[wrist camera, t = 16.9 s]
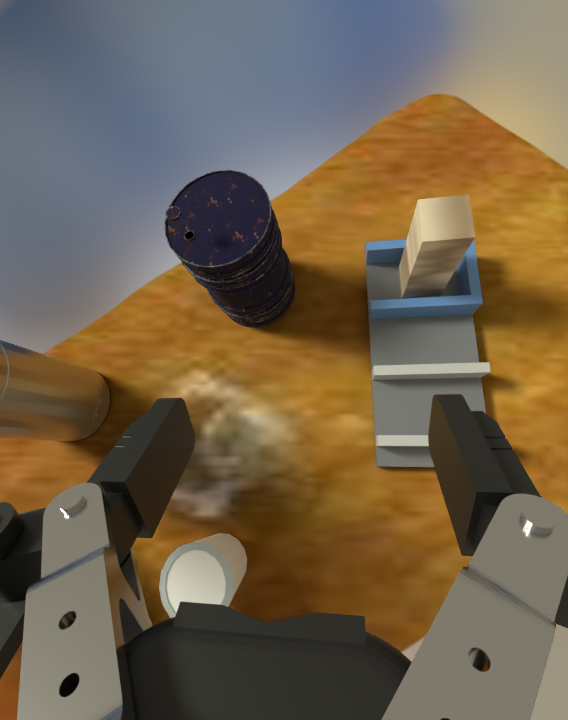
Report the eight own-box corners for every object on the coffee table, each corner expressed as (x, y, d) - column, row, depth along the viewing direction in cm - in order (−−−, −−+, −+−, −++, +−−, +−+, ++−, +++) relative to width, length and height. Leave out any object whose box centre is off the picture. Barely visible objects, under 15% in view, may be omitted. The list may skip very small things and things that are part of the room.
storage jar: (269, 242, 47) (224, 119, 29) (311, 297, 44) (289, 197, 27) (206, 285, 47) (125, 187, 29) (244, 343, 44) (178, 272, 26)
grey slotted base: (376, 465, 38) (379, 467, 34) (364, 247, 44) (366, 226, 40) (488, 467, 36) (506, 469, 32) (458, 239, 42) (470, 217, 38)
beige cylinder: (202, 518, 39) (172, 531, 33) (260, 538, 38) (242, 556, 31) (182, 585, 38) (147, 613, 31) (242, 608, 36) (219, 643, 30)
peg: (400, 301, 40) (422, 241, 29) (398, 269, 41) (418, 199, 30) (437, 299, 40) (475, 237, 28) (434, 267, 41) (468, 194, 29)
